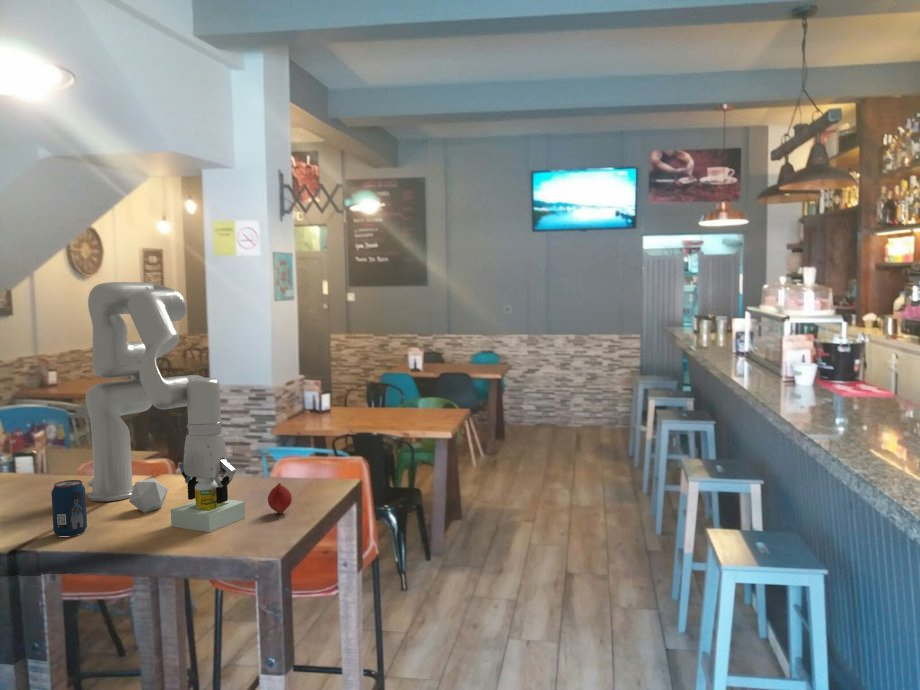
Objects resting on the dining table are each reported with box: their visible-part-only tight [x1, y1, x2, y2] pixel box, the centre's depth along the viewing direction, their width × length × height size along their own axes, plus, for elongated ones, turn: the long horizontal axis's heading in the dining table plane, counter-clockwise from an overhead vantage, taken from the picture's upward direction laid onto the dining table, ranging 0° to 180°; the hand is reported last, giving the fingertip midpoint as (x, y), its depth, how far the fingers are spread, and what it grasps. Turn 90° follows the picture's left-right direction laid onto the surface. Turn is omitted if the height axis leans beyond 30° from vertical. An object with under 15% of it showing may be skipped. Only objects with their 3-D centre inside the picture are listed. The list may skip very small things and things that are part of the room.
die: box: [128, 477, 169, 514], centre depth 188 cm, size 8×9×10 cm
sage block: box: [170, 499, 246, 533], centre depth 177 cm, size 12×12×4 cm
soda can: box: [50, 479, 88, 537], centre depth 169 cm, size 7×7×12 cm
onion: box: [267, 482, 293, 515], centre depth 183 cm, size 6×6×8 cm
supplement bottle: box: [194, 477, 219, 511], centre depth 177 cm, size 5×5×10 cm
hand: (207, 500), depth 177 cm, fingers open, 8 cm apart
